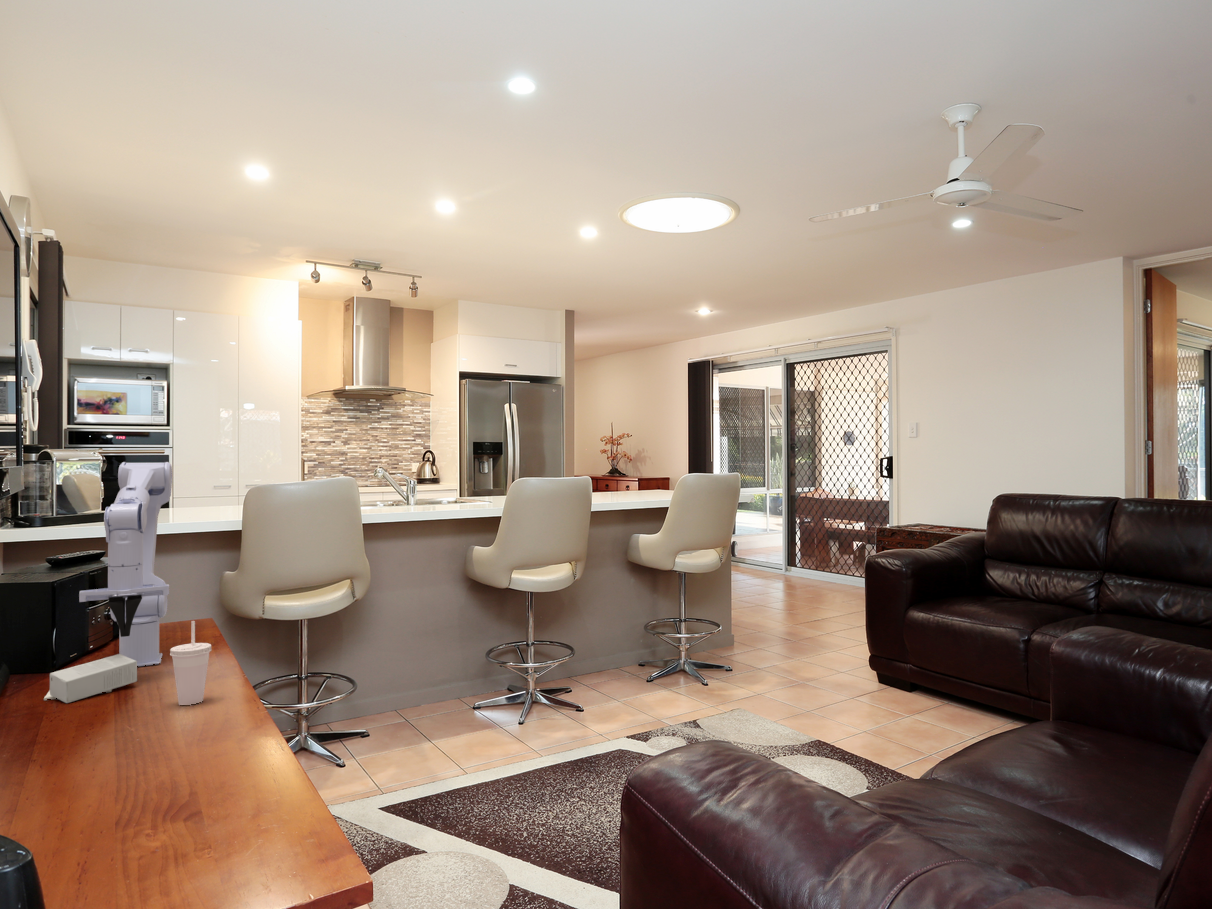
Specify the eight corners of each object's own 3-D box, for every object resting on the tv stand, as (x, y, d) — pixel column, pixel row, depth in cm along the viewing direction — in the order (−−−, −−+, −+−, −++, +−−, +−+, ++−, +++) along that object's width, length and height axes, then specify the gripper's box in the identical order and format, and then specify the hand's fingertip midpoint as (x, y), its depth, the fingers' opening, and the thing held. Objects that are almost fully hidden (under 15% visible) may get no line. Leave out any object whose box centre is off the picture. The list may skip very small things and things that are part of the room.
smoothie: (219, 697, 132) (219, 618, 132) (196, 708, 125) (196, 625, 126) (185, 696, 132) (186, 618, 133) (160, 708, 126) (161, 625, 126)
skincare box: (120, 674, 143) (49, 695, 132) (120, 653, 142) (48, 672, 132) (137, 682, 140) (66, 704, 129) (137, 660, 139) (65, 680, 129)
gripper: (77, 570, 136) (76, 644, 136) (168, 564, 143) (168, 635, 143) (82, 566, 143) (81, 637, 142) (169, 561, 150) (169, 628, 149)
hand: (125, 635), depth 143 cm, fingers closed
